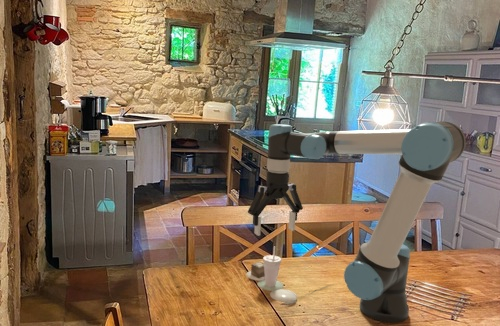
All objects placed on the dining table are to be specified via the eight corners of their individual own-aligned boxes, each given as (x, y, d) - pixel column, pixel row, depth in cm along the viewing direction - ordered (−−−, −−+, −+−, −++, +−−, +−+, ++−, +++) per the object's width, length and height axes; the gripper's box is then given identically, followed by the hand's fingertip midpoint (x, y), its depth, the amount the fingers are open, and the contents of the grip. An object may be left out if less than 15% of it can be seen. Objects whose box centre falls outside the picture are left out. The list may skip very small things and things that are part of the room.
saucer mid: (288, 291, 159) (288, 287, 159) (265, 295, 155) (265, 292, 155) (274, 280, 167) (274, 277, 167) (252, 284, 163) (253, 281, 162)
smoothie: (280, 289, 157) (282, 250, 155) (261, 288, 157) (263, 249, 155) (279, 281, 164) (281, 243, 161) (261, 280, 164) (263, 242, 161)
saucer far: (275, 281, 166) (275, 278, 166) (253, 285, 162) (253, 282, 162) (263, 271, 174) (263, 268, 174) (241, 275, 170) (242, 272, 170)
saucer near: (302, 302, 152) (302, 298, 151) (278, 307, 147) (279, 303, 147) (287, 290, 159) (287, 287, 159) (264, 295, 155) (265, 291, 155)
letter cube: (266, 275, 168) (267, 264, 167) (258, 278, 165) (259, 267, 164) (258, 271, 171) (259, 261, 170) (250, 274, 168) (251, 263, 167)
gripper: (302, 167, 162) (298, 225, 166) (239, 170, 151) (237, 232, 154) (315, 171, 156) (311, 231, 159) (250, 175, 144) (247, 240, 148)
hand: (274, 232), depth 157 cm, fingers open, 13 cm apart
